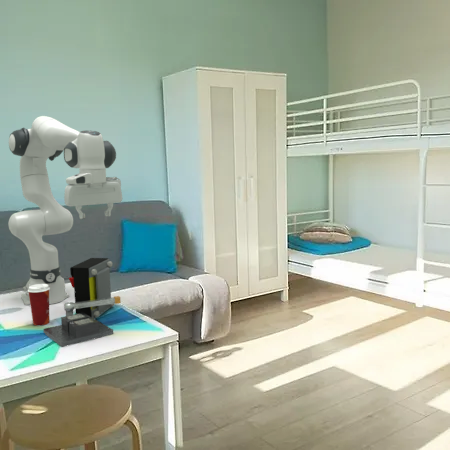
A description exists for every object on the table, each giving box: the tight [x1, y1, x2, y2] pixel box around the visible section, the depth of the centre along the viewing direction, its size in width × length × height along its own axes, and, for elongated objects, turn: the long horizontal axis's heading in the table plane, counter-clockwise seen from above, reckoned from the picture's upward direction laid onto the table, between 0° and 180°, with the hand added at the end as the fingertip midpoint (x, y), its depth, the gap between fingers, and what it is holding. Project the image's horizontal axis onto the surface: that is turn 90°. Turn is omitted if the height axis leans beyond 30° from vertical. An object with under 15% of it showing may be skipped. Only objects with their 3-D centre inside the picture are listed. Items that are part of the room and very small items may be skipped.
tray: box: [43, 310, 114, 348], centre depth 174 cm, size 17×18×6 cm
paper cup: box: [28, 284, 50, 326], centre depth 186 cm, size 8×8×14 cm
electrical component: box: [68, 257, 116, 320], centre depth 196 cm, size 18×10×20 cm, turn 168°
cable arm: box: [63, 295, 122, 312], centre depth 182 cm, size 20×3×2 cm, turn 114°
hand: (95, 217), depth 178 cm, fingers open, 8 cm apart
